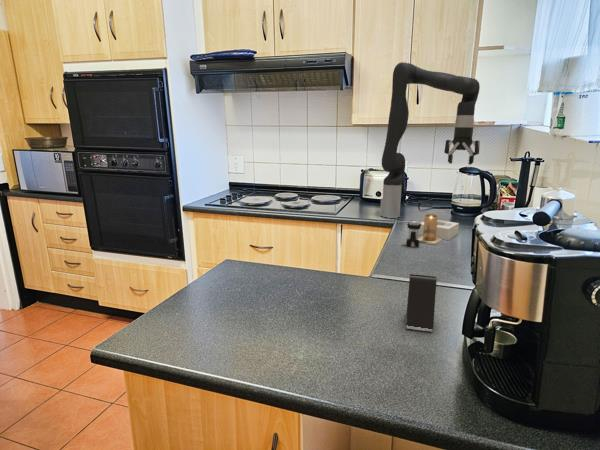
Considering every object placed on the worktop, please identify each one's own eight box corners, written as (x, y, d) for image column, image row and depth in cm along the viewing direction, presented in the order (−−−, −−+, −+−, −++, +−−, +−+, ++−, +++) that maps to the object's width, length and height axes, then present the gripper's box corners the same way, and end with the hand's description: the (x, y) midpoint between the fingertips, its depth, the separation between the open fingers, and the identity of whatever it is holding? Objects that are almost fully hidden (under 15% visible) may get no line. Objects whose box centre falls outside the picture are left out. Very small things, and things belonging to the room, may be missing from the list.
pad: (415, 241, 160) (415, 239, 160) (423, 237, 166) (423, 235, 166) (434, 245, 155) (434, 243, 155) (441, 241, 161) (442, 239, 161)
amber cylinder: (420, 239, 160) (423, 215, 158) (425, 237, 164) (427, 213, 162) (432, 241, 157) (435, 217, 155) (437, 239, 161) (439, 215, 159)
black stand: (402, 247, 153) (404, 222, 150) (401, 243, 158) (403, 219, 155) (419, 248, 151) (422, 223, 149) (418, 244, 156) (420, 220, 154)
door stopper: (406, 312, 99) (410, 268, 96) (431, 315, 97) (435, 270, 94) (405, 329, 90) (409, 281, 88) (432, 333, 89) (437, 284, 86)
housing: (417, 234, 170) (418, 223, 169) (429, 229, 180) (430, 218, 179) (447, 240, 162) (448, 228, 161) (457, 234, 172) (459, 223, 171)
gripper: (483, 126, 168) (479, 164, 172) (450, 126, 176) (447, 162, 180) (478, 126, 162) (474, 165, 166) (444, 126, 171) (441, 163, 175)
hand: (460, 163), depth 173 cm, fingers open, 8 cm apart
